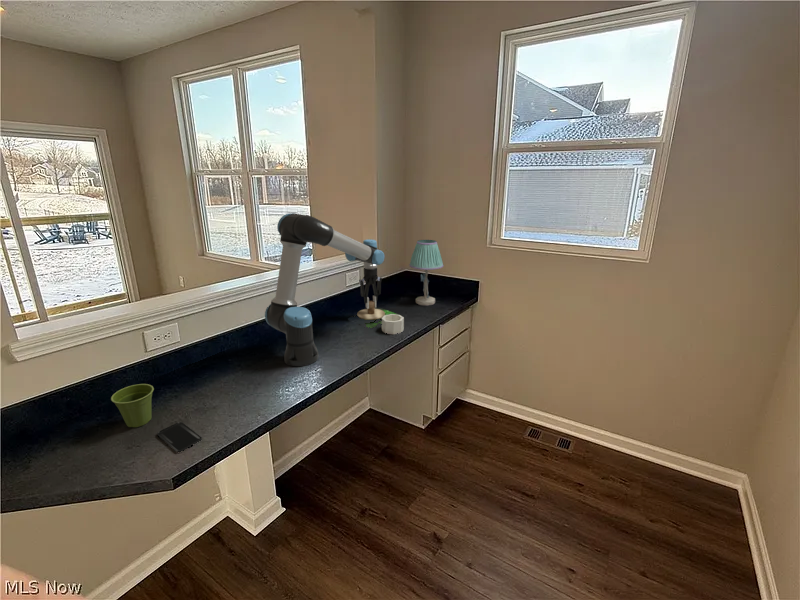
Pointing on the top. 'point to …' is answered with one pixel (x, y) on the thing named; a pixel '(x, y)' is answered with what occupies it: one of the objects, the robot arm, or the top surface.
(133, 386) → the plant pot
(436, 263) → the table lamp
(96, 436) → the top surface
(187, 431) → the phone
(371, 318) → the lid
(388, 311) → the mouse mat
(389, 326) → the cup
